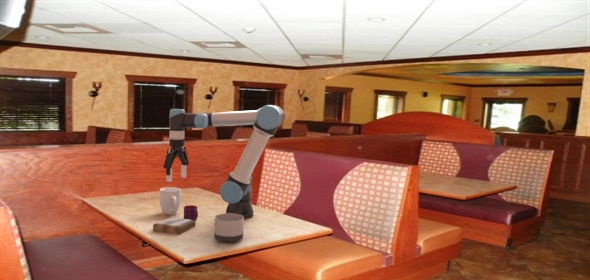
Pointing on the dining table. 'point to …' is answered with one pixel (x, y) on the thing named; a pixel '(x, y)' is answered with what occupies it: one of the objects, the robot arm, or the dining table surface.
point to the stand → (174, 225)
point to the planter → (229, 227)
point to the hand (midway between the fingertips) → (176, 179)
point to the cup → (190, 212)
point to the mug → (170, 200)
